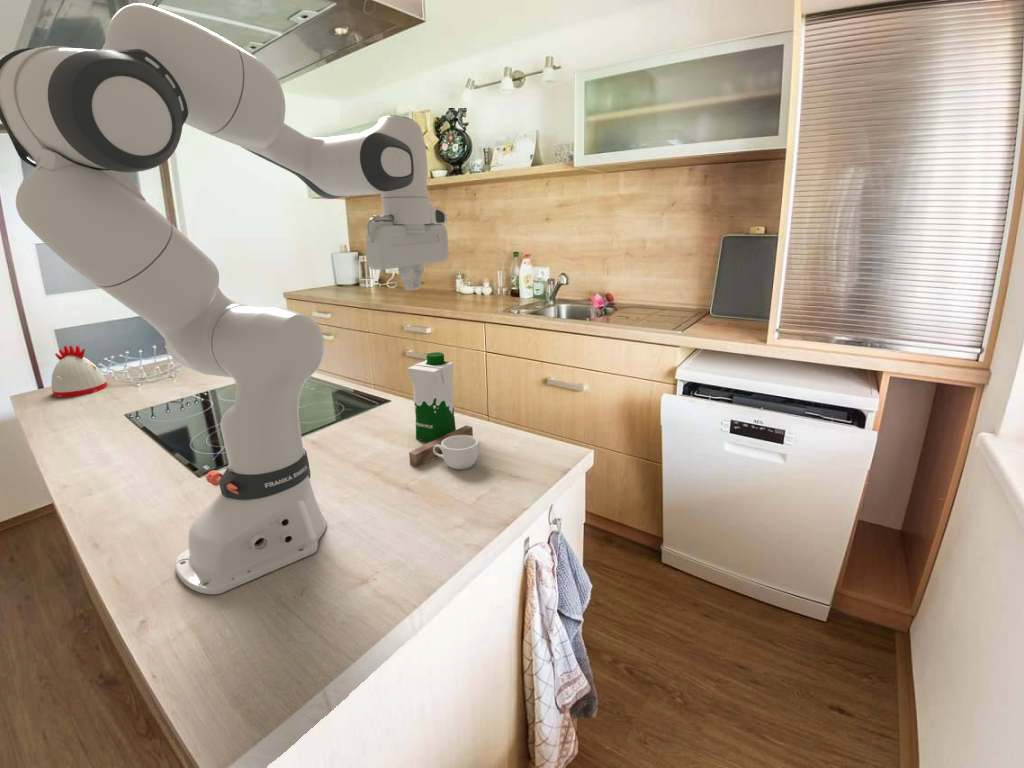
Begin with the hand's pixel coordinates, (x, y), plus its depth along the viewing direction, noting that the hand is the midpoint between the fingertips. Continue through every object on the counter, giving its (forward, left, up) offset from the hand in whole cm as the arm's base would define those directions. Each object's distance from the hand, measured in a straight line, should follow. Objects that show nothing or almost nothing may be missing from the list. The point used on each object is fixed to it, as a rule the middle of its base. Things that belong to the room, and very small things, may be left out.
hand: (412, 289), depth 100 cm
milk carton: (+11, +9, -38) cm, 40 cm away
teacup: (+3, -6, -38) cm, 38 cm away
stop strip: (+6, +1, -37) cm, 38 cm away
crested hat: (-29, +133, -38) cm, 141 cm away
